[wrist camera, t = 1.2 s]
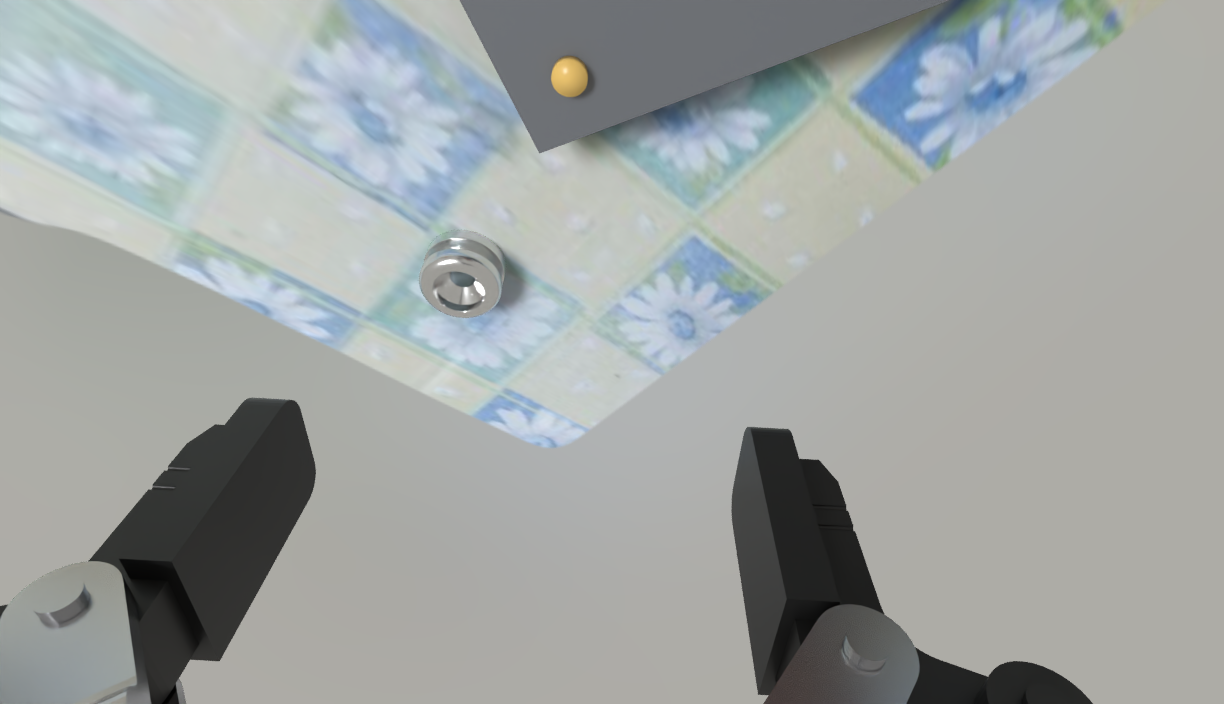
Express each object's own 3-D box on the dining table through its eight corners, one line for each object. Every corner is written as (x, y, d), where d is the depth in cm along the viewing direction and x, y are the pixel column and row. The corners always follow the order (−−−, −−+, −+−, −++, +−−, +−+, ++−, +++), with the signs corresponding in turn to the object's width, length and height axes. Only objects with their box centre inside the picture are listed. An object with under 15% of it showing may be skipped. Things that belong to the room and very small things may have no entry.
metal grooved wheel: (491, 223, 41) (414, 236, 42) (484, 252, 39) (403, 266, 39) (516, 286, 44) (444, 297, 45) (510, 316, 42) (435, 327, 43)
